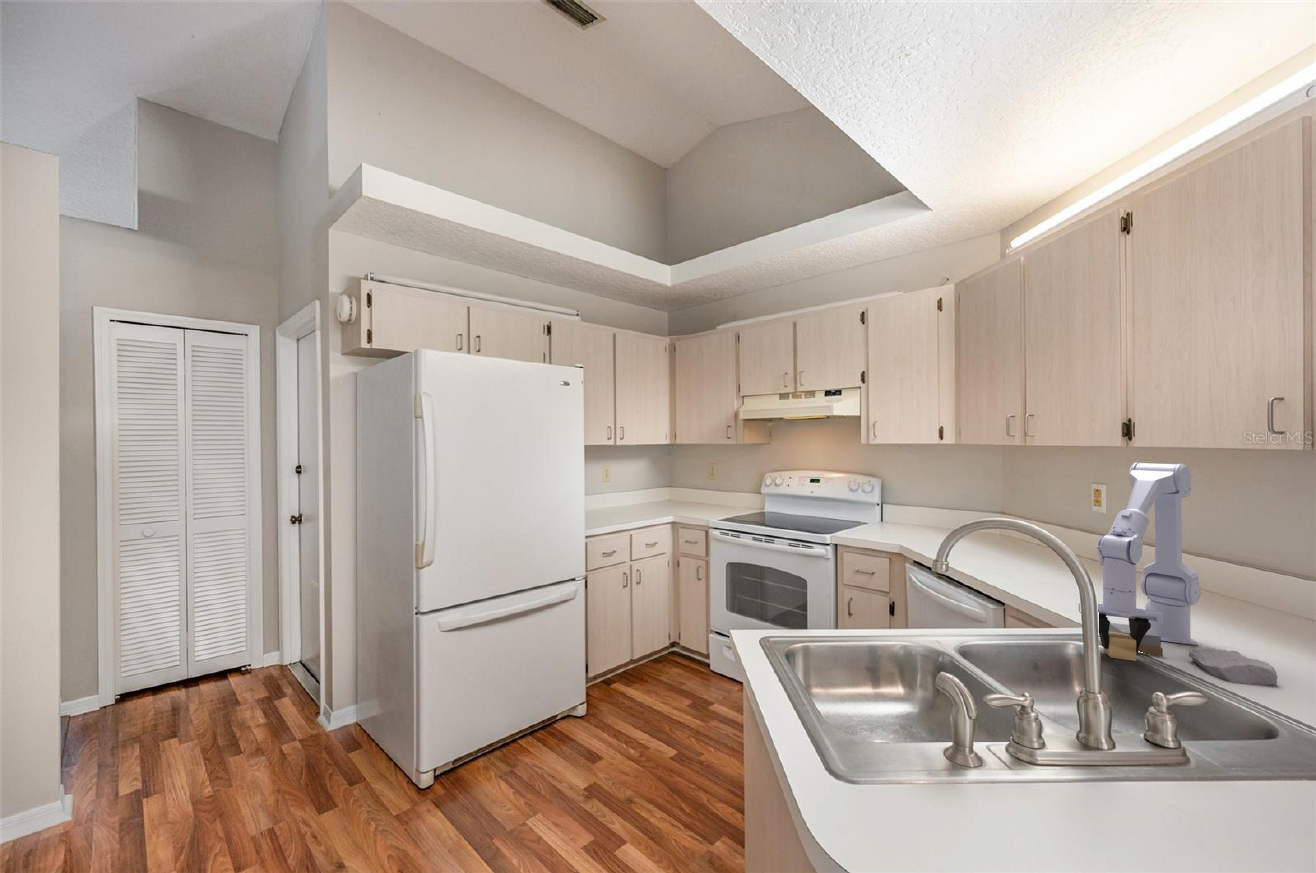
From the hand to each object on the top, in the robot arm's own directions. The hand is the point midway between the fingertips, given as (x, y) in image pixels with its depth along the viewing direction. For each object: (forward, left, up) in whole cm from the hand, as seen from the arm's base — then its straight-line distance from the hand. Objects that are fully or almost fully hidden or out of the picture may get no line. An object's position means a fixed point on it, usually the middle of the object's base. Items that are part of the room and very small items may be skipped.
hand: (1119, 649), depth 121 cm
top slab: (-8, +5, 0) cm, 9 cm away
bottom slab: (-8, +5, -2) cm, 10 cm away
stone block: (+1, +18, -2) cm, 18 cm away
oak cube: (0, 0, -1) cm, 1 cm away
